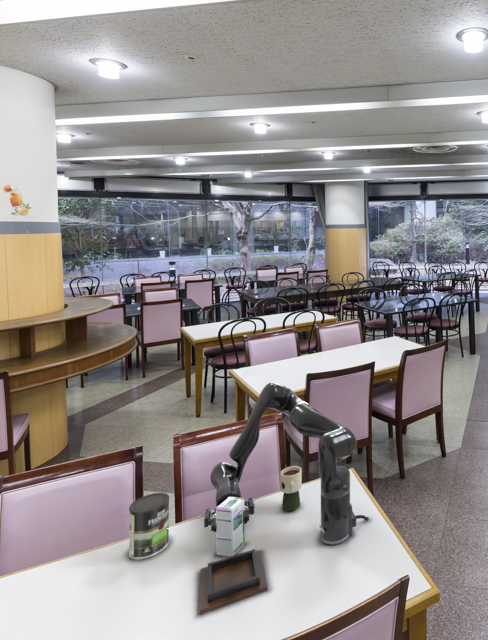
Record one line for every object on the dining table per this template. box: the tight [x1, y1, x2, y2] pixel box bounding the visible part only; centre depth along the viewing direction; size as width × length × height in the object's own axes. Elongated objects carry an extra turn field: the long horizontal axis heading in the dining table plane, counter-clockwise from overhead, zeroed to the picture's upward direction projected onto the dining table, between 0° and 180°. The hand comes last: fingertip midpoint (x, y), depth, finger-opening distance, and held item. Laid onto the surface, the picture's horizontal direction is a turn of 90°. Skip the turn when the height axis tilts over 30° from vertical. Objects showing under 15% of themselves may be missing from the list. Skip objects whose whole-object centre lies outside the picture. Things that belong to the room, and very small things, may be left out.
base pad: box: [199, 548, 268, 615], centre depth 119 cm, size 16×16×3 cm
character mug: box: [280, 465, 303, 512], centre depth 153 cm, size 11×7×13 cm, turn 22°
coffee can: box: [128, 492, 170, 561], centre depth 133 cm, size 10×10×14 cm
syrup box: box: [215, 497, 246, 557], centre depth 132 cm, size 6×6×14 cm
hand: (230, 524), depth 131 cm, fingers open, 8 cm apart
